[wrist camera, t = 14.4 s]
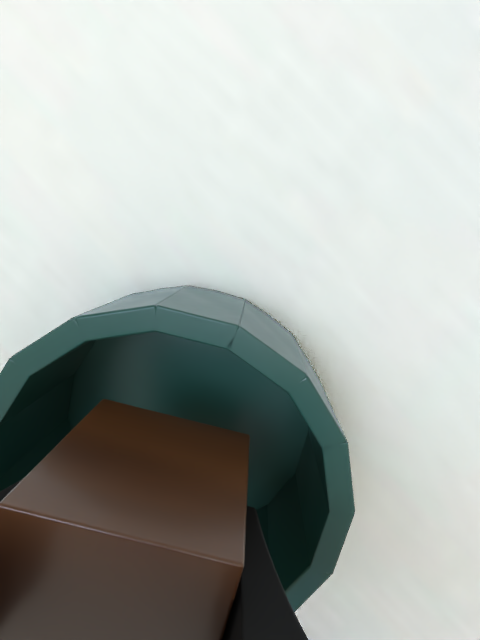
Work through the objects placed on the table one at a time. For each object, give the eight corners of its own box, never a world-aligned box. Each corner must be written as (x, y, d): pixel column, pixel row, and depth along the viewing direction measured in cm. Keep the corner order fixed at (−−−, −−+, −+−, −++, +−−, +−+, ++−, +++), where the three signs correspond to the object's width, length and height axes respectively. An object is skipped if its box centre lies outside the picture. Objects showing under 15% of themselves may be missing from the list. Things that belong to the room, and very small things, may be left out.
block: (216, 556, 13) (191, 746, 8) (81, 523, 13) (-26, 691, 8) (250, 433, 12) (245, 566, 7) (102, 397, 12) (-5, 504, 7)
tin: (282, 558, 18) (292, 686, 13) (43, 499, 18) (-45, 603, 13) (357, 325, 16) (408, 367, 10) (78, 256, 16) (-14, 262, 10)
